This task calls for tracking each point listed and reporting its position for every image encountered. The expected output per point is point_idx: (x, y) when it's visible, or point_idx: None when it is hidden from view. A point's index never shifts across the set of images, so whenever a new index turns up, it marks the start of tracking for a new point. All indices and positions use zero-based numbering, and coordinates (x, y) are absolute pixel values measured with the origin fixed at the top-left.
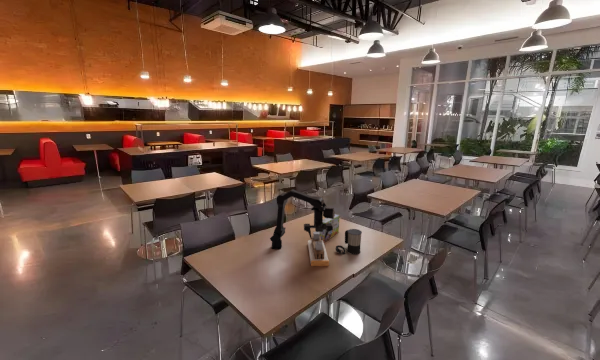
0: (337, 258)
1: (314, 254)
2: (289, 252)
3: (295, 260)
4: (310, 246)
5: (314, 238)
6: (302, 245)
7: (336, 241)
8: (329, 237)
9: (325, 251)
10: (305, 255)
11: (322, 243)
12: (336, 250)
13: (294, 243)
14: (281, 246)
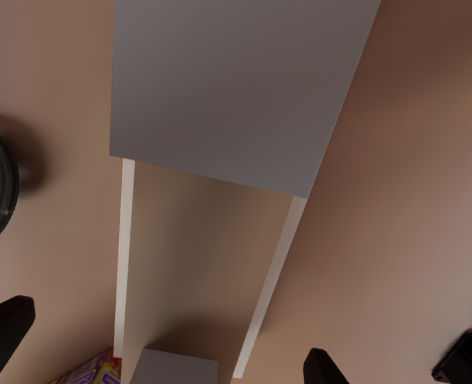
0: (33, 63)
1: None
2: (431, 276)
3: (462, 138)
4: None
5: (207, 374)
6: (286, 338)
7: None
8: (61, 380)
9: (130, 165)
10: (328, 201)
11: None
12: (7, 172)
13: None
14: (458, 354)
